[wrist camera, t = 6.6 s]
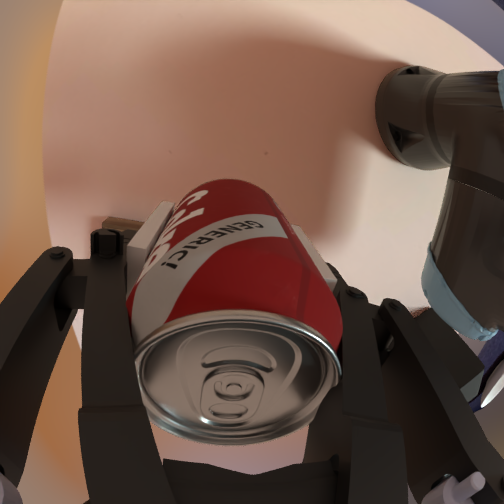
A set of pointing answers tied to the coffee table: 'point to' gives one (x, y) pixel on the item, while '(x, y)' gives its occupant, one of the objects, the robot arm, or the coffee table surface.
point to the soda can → (232, 322)
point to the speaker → (452, 353)
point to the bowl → (493, 384)
